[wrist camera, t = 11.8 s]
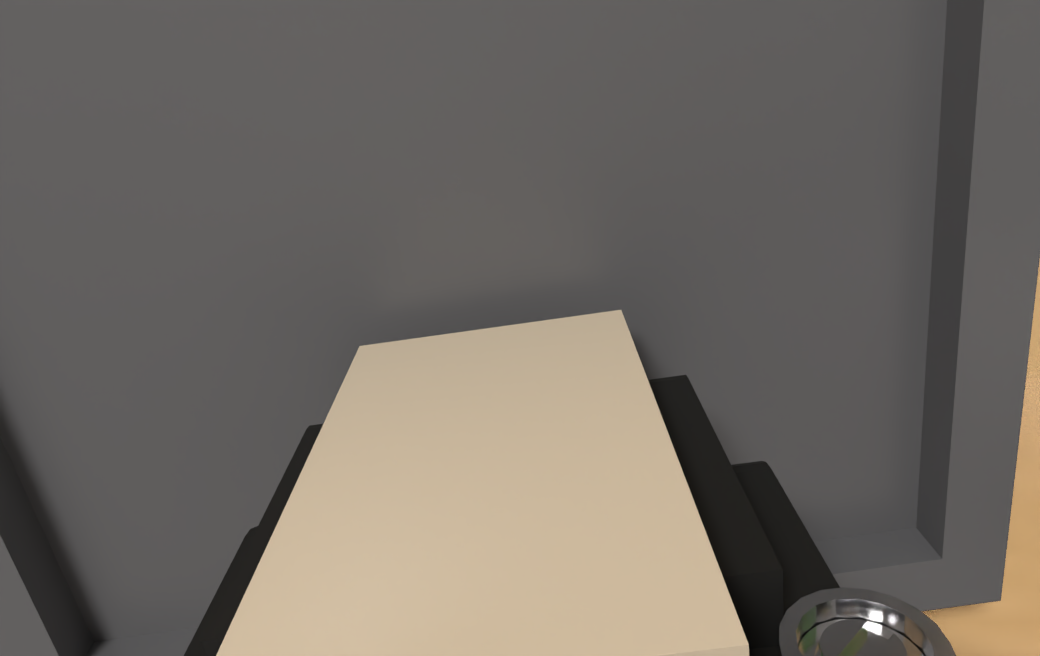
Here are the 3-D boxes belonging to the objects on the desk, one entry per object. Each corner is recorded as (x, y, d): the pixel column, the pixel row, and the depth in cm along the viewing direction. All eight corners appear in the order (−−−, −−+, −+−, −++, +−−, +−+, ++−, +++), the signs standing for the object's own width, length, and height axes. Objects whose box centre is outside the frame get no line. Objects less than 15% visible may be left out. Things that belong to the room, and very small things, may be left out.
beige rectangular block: (621, 309, 10) (748, 644, 5) (648, 571, 12) (765, 1046, 6) (359, 346, 11) (190, 711, 5) (420, 599, 12) (344, 1088, 7)
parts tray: (1047, -497, 8) (1133, -578, 7) (958, 552, 14) (1001, 600, 12) (-379, -255, 9) (-508, -295, 8) (69, 675, 14) (32, 732, 13)
